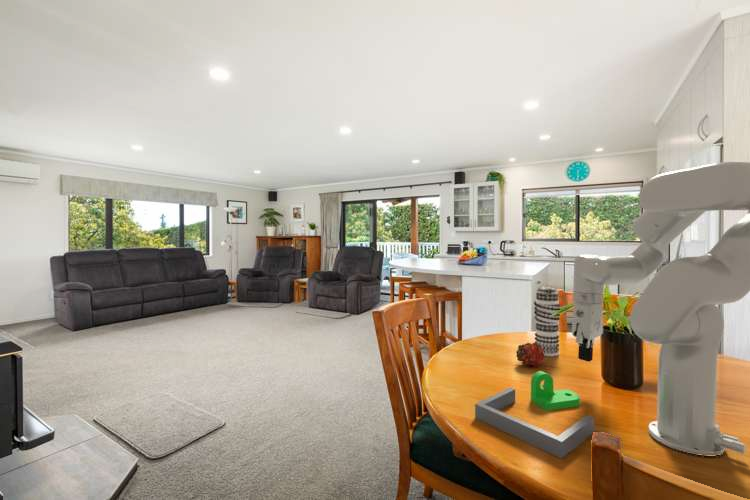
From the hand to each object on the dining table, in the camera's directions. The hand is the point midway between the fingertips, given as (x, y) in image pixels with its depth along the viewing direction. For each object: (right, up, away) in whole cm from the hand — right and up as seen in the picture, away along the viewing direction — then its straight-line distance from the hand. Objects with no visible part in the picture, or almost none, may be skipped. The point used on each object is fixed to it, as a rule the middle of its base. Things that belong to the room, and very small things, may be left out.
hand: (585, 359), depth 104 cm
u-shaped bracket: (-24, -10, -19) cm, 32 cm away
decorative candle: (+5, -8, +33) cm, 34 cm away
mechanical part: (-12, -10, -8) cm, 17 cm away
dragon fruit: (-7, -8, +20) cm, 23 cm away
